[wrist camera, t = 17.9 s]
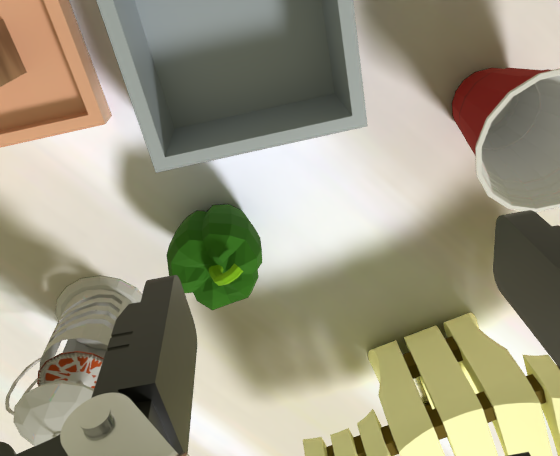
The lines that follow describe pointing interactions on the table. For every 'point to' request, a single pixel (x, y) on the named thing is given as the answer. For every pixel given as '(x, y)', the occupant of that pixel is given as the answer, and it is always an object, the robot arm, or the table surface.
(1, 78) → the walnut stick
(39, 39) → the terracotta tray
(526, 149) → the plastic cup
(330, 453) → the slatted curved stool
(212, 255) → the bell pepper
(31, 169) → the table surface
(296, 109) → the grey tub
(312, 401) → the table surface
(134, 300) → the french press
